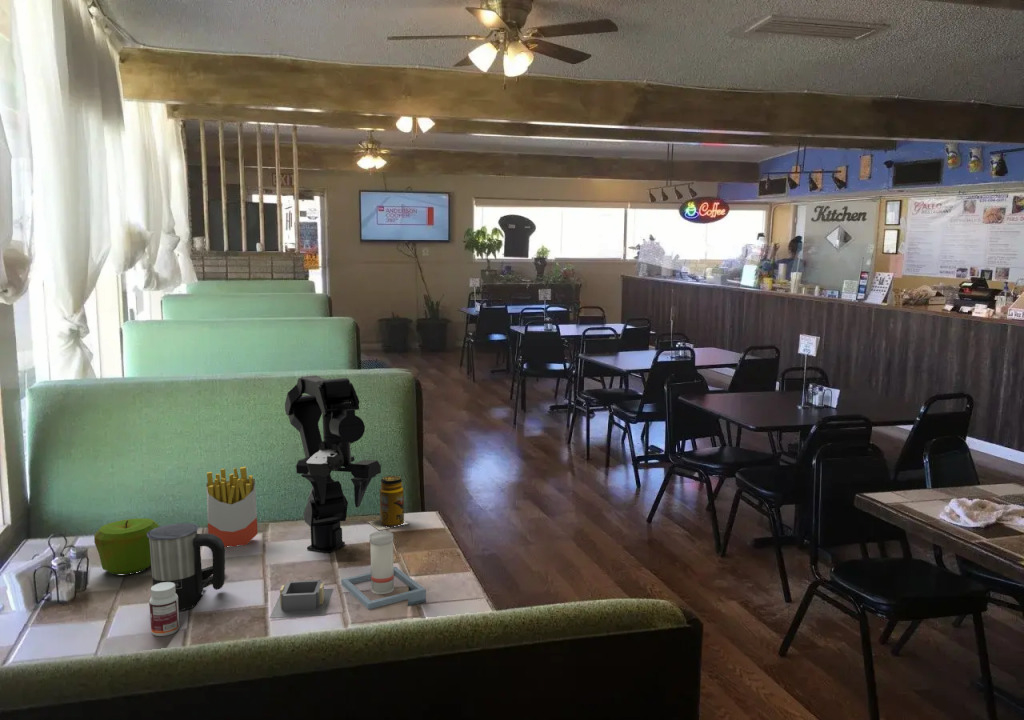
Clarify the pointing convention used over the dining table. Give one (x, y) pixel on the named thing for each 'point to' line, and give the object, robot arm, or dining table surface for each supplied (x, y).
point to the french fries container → (232, 507)
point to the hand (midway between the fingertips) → (339, 505)
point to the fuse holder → (302, 599)
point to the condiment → (390, 503)
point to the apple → (125, 545)
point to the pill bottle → (164, 609)
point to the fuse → (382, 562)
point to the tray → (413, 595)
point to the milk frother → (185, 561)
